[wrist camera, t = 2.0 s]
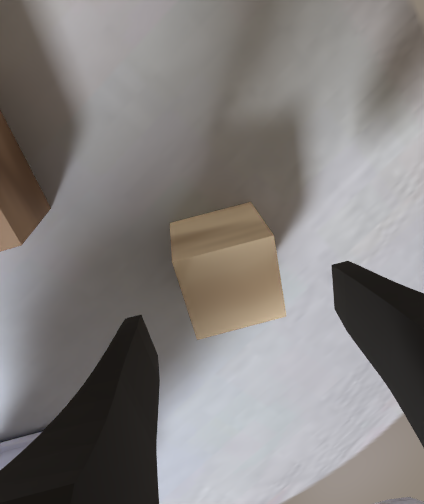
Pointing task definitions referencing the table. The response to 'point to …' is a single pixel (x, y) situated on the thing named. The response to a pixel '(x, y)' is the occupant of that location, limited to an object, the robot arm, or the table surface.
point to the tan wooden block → (17, 193)
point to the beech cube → (227, 270)
